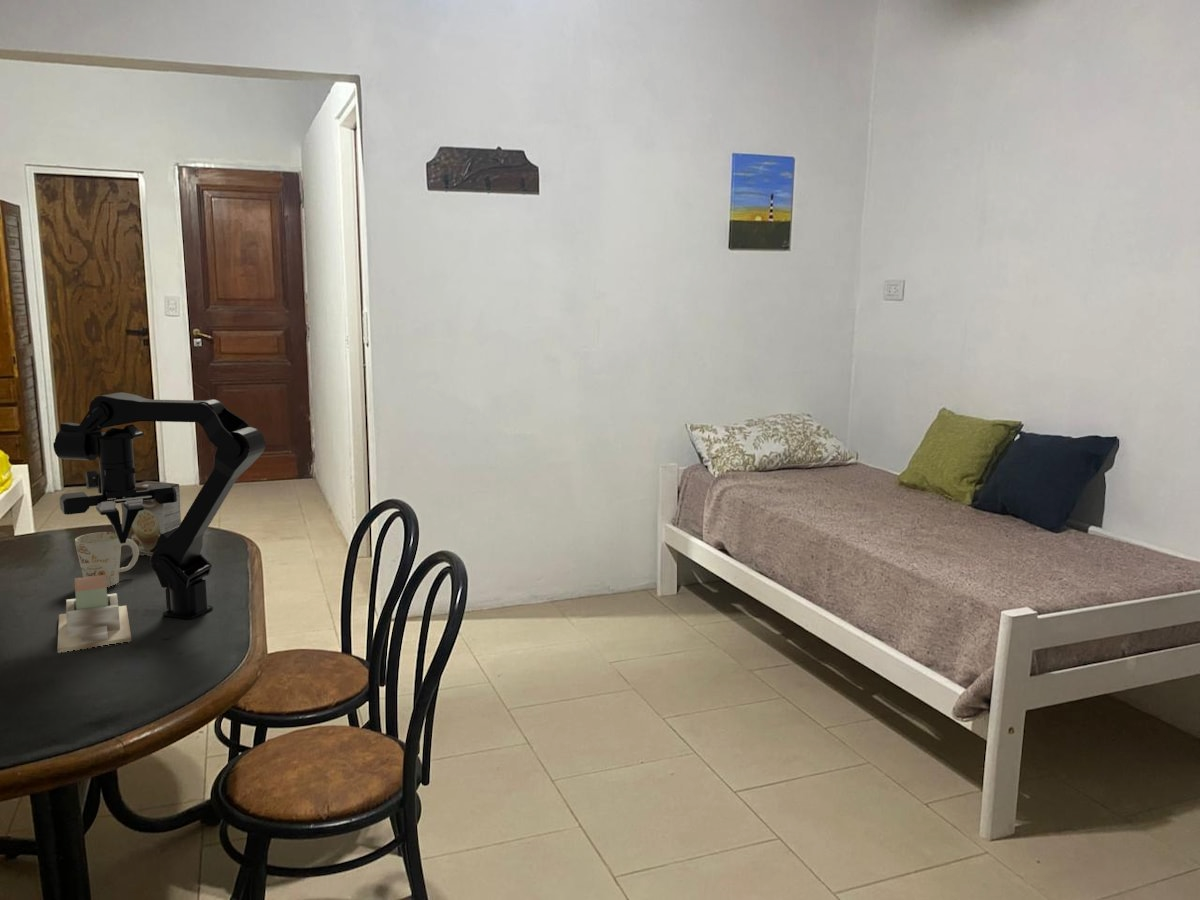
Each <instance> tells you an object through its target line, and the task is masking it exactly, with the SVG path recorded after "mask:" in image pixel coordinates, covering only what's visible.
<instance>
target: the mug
mask: <svg viewBox="0 0 1200 900" xmlns="http://www.w3.org/2000/svg"><path fill="white" fill-rule="evenodd" d="M74 544H75V548H76V549H75V550H76V553H77V557H78V561H79V565H80V570H81V574H82V578H83V577H91V576H100V575H106V587H108V588H111V587H110V586H112V585H115V584H116V585H118V584H119V579H120V573H124V572H126V571H129V570H130V569H132V568H133V567H134V566H135V564H136V563H137V561H138V559H139V556H140V555H139V549H138V546H137V544H136V543H135V542H134V541H133V540H131V539H130V538H127V540H126V543H122V544H121V543H120V542H119V540H118V537H117V535H116V533H115V531H114V532H113V531H100V532H93V533H86V534H83V535H79V536H77V537H76V538H75V539H74ZM123 546H129V547H130V549H131V551H132V550H133V554H132V557H131V560H130V562H129V563H128V565H127V566H122V567H120V566H121V554H122V553H121V551H122V547H123ZM117 583H118V584H117ZM116 585H115V586H116ZM112 587H113V586H112Z"/></svg>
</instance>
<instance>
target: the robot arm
mask: <svg viewBox="0 0 1200 900" xmlns="http://www.w3.org/2000/svg"><path fill="white" fill-rule="evenodd" d="M88 408H89V409H88V412H87V413H86V414H85V416H84V417H83V419H82V421H81V422H80V423H77V422H76V423H75V422H71V421H70V422H69V421H67V422H63V423H60V424H59V428H60V430H59V431H58V432H57V434H56V436H55V439H54V442H53V444H52V445H53V451H54V454H55V455H56V457H57V458H58V459H60V460H61V459H62V460H79V461H94V460H96V459H97V458H98V464H99V465H98V466H99V473H98V471H97V470H88V471H87V470H86V471H85V473H84V474H85V475H84V476H85V485H86V486H85V487H86V489H87V490H91V489H97V491H98V495H89V496H88V495H87V494H86V493H85V492H84V491H77V492H69V493H62V494H61V496H59V509H60V510H61V511H62V513H63V514H64V515H67V516H68V515H76V514H77V515H78V514H84V513H86V512H87V511H88V510H89V509H90V507H95V509H96V511H97V513H99V515H101V516H106V517H107V519H108V520H109V523H110V524H111V526H112V529H113V531H114V532H115V533H116V535H117V537H118V540H119V542H120V543H121V544H122V543H126V540H127V539H128V537H129V535H130V533H131V526H132V524H133V522H134V520H135V518H136V516H137V514H138V512H139V511H142V510H144V507H143V506H142V503H143V500H151V499H154V500H155V501H157V502H158V503H159V504H164V503H172V502H176V501H177V495H176V490H175V489H174V488H173V487H171V486H170V485H169V484H167V483H168V482H165V483H163V484H154V485H148V490H143V491H136V484H137V482H136V469H135V459H134V458H135V457H134V456H135V455H134V441H133V440H134V439H138V438H142V437H144V435H145V434H144V432H143V431H142V430H141V429H139V428H137V427H136V426H135V424H133V423H136V422H160V423H161V422H162V423H163V422H165V423H167V422H171V423H198V424H199V425H200V426H201V427H202V428H203V430H204V432H205V434H206V436H207V438H208V440H209V441H210V442H211V444H213V445H214V446H215V449H216V450H215V452H214V455H213V469H212V470H211V472H210V474H209V476H208V477H207V479H206V480H205V482H204V484H203V485H202V487H201V489H200V491H199V492H198V494H197V495H196V497H195V499H194V501H193V502H192V504H191V505H190V507H189V509H188V511H187V512H186V514H185V516H183V517H184V518H183V519H182V520H181V524H180V526H178V527H175V528H173V529H171V530H169V531H167V532H164V533H162V534H161V535H160V536H159V538H158V541H157V543H156V545H155V547H154V548H153V549H151V550H150V552H153V554H152V555H151V556H150V560H149V563H150V564H151V567H152V569H153V571H154V573H155V574H156V576H157V579H158V582H159V583H160V584H159V585H160V586H161V588H163V589H165V603H166V609H167V610H165V611H163V612H162V613H161V614H162V615H161V616H163V617H170V618H178V619H185V620H193V619H195V618H196V617H198V616H200V615H203V614H205V613H207V612H208V611H211V610H214V606H213V605H209V604H208V600H207V580H206V579H204V578H205V577H207V576H209V575H210V573H211V571H212V568H213V567H212V564H211V563H210V562H209V561H208V559H206V558H205V557H204V556H203V555H202V554H201V552H202V549H203V543H204V542H203V539H204V534H205V533H206V531H207V529H208V528H209V526H210V524H211V523H212V521H213V519H214V518H215V516H216V514H217V513H218V511H219V509H220V507H221V506H222V505H223V503H224V501H225V499H226V498H227V497H228V494H229V493H230V491H231V490H232V487H234V484H235V483H236V481H237V480H238V478H239V477H240V476H241V475H242V474H243V473H244V472H245V471H246V470H248V469H249V468H250V467H251V466H252V465H253V464H254V463H255V462H256V461H257V459H259V457H260V456H261V455H262V454H263V453H264V452H265V449H266V445H267V443H266V441H265V437H264V435H263V433H262V432H261V431H260V430H259V429H257V428H256V427H253V426H251V424H249V423H248V422H247V421H246V419H244V418H242V417H240V416H239V415H237V414H236V413H234V412H233V411H231V410H229V409H228V408H227V407H226V406H225V405H224V404H223V402H221V401H220V400H217V399H212V398H211V399H207V400H194V399H192V400H191V399H187V400H186V399H151V398H145V397H143V396H140V395H139V394H138V395H137V394H133V393H128V392H124V391H123V392H114V393H110V394H103V395H98V396H95V397H93V399H92V400H91V401H90V404H89V407H88ZM123 425H125V426H124V428H121V427H120V428H119V427H116V426H123ZM105 429H108V430H106V431H104V432H103V431H102V430H105ZM116 504H120V505H121V514H122V515H121V517H120V510H119V509H118V508H117V507H116Z"/></svg>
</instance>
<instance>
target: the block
mask: <svg viewBox="0 0 1200 900" xmlns="http://www.w3.org/2000/svg"><path fill="white" fill-rule="evenodd" d="M74 593H75V598H76V607H77V610H82V609H89V608H97V607H104V606H108V600H107V594H108V590H107V587H106V575H100V576H91V577H83V576H82V577H76V578H74Z"/></svg>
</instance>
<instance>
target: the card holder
mask: <svg viewBox="0 0 1200 900" xmlns="http://www.w3.org/2000/svg"><path fill="white" fill-rule="evenodd" d="M65 600H66V601H65V602H66V603H65V613H60V614H58V629H57V632H58V633H57V653H58V654H61V652H62V653H68V652H67V651H69V652H73V650H75V651H80V649H82V650H87V648H88V649H93V648H92V647H95V648H98V647H97V646H101V647H104V646H103V645H108V646H110V645H109V644H115V645H117V644H116V643H121V644H124V643H123V642H128V643H131V642H132V634H131V629H130V628H131V627H130V621H129V614H128V608H127V604H126V605H119V601H118V593H116V592H115V593H107V600H108V606H104V607H97V608H89V609H82V610H77V607H76V597H75V598H69V599H65ZM130 641H131V642H130Z"/></svg>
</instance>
